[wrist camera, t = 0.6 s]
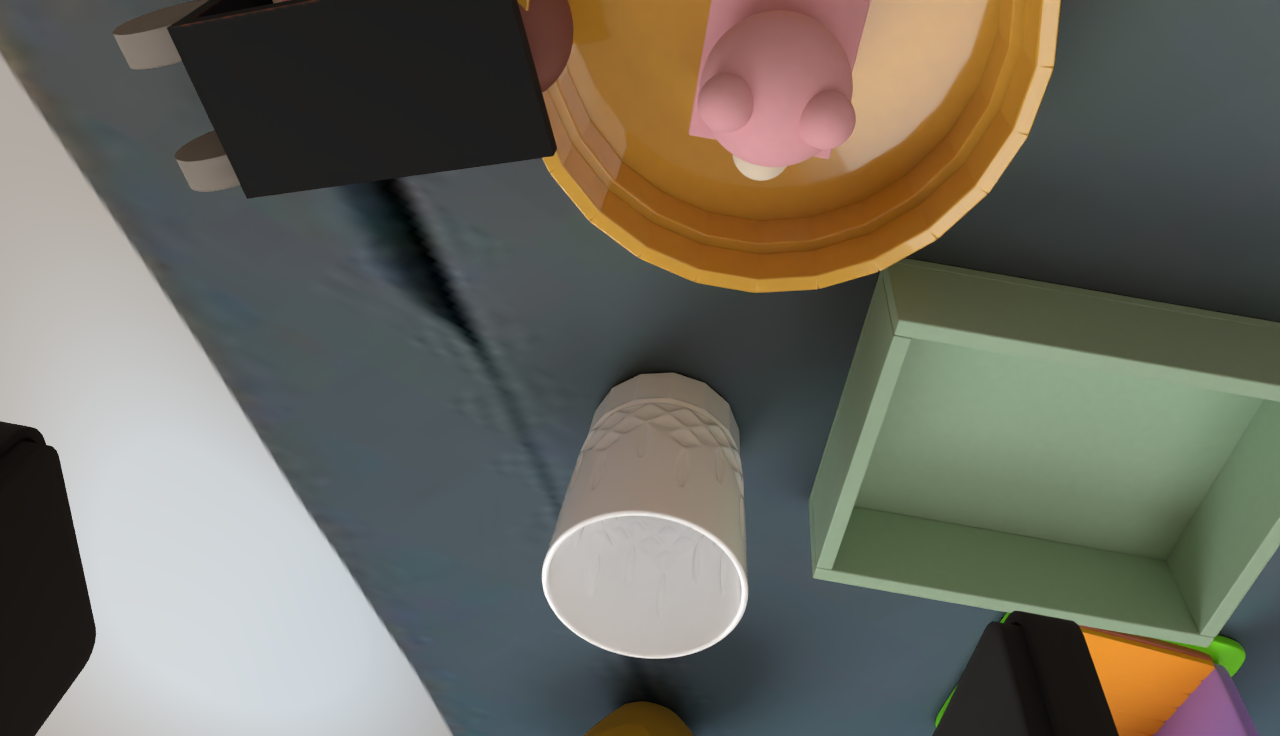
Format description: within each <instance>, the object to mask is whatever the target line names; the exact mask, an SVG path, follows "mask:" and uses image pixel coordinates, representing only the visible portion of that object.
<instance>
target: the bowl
mask: <svg viewBox="0 0 1280 736" xmlns="http://www.w3.org/2000/svg"><path fill="white" fill-rule="evenodd" d="M517 1H518V3H519V4H520V5H521V6H522V7H523V8H524V9H525V10H526V11H528V10H529V6H530V1H531V0H517ZM568 3H569V6H570V9H571V14H572V18H573V28H574V30H573V44H572V49H571V53H570V57H569V59H568V62H567V64H566V66H565V68H564V70H563V72H562V73H561V75H560V76H559V78H558V79H557V80H556V81H555V82H554V84H553V85H552V86H551V87H549V88H548V89H547V90H546V91H545V92H542V94H543V97H544V101H545V105H546V109H547V112H548V116H549V120H550V123H551V127H552V131H553V134H554V138H555V142H556V145H557V150H556V152H555V154H554V156H551V157H544V158H542V159H543V161H544V163H545V165H546V167H547V169H548V171H549V172H550V174H551V175H552V177H553V178H554V179H555V180H556V181H557V183H558V184H559V185H560V186H561V188H562V189H563V190H564V191H565V192H566V194H567V195H568V196H569V197H570V199H571V200H572V201H573V202H574V203H575V205H576V206H577V207H578V208H579V209H580V211H581V212H582V213H583V214H584V216H585V217H586V218H587V219H588V220H590V222H591V223H592V224H593V225H595V226H596V227H598V228H599V229H600V230H602V231H603V232H604V233H606V234H607V235H608V236H610V237H611V238H612V239H614V240H615V241H616V242H618V243H619V244H620V245H622V246H623V247H624V248H626V249H627V250H628V251H630V252H631V253H632V254H634V255H635V256H636V257H639V258H640V259H642V260H644V261H646V262H649V263H651V264H653V265H656V266H658V267H660V268H663V269H665V270H667V271H670V272H672V273H674V274H677V275H679V276H681V277H684V278H686V279H688V280H691V281H693V282H696V283H700V284H706V285H712V286H718V287H723V288H729V289H735V290H741V291H746V292H752V293H756V292H757V293H763V292H781V291H798V290H816V289H818V288H819V289H821V288H825V287H828V286H832V285H835V284H839V283H842V282H846V281H849V280H852V279H856V278H859V277H863V276H866V275H870V274H873V273H877V272H879V270H880V271H882V270H884V269H885V268H887V267H889V266H891V265H893V264H894V263H896V262H898V261H900V260H902V259H903V258H905V257H907V256H909V255H911V254H912V253H914V252H916V251H918V250H920V249H922V248H923V247H925V246H927V245H929V244H931V243H932V242H934V241H936V240H937V238H940V237H941V236H942V235H943V234H944V233H945V232H947V231H948V230H949V229H950V228H951V227H952V226H953V225H954V224H955V223H957V222H958V221H959V220H960V219H961V218H962V217H963V216H964V215H965V214H967V213H968V212H969V211H970V210H971V209H972V208H973V207H974V206H975V205H977V204H978V203H979V202H980V201H981V200H982V199H983V198H984V197H985V196H986V195H987V194H988V193H990V191H991V190H992V188H993V187H994V185H995V184H996V183H997V181H998V180H999V178H1000V177H1001V175H1002V174H1003V172H1004V171H1005V169H1006V168H1007V167H1008V165H1009V164H1010V162H1011V161H1012V159H1013V158H1014V156H1015V155H1016V154H1017V152H1018V151H1019V149H1020V148H1021V146H1022V145H1023V143H1024V142H1025V140H1026V139H1027V138H1028V135H1029V133H1030V131H1031V128H1032V125H1033V123H1034V120H1035V118H1036V115H1037V112H1038V110H1039V107H1040V104H1041V102H1042V99H1043V96H1044V94H1045V91H1046V88H1047V86H1048V83H1049V80H1050V78H1051V75H1052V72H1053V70H1054V67H1053V66H1054V65H1055V58H1056V48H1057V38H1058V28H1059V18H1060V8H1061V0H870V6H869V10H868V14H867V17H866V21H865V25H864V29H863V33H862V37H861V40H860V44H859V48H858V52H857V56H856V60H855V63H854V67H853V71H852V80H853V92H852V100H851V103H852V105H853V107H854V110H855V115H856V122H855V127H854V130H853V132H852V134H851V136H850V137H849V138H848V140H847V141H845V142H844V143H843V144H842V145H840V146H838V147H836V148H833V149H832V152H831V156H830V158H829V159H826V158H820V157H814V156H812V157H811V158H809V159H807V160H805V161H802V162H800V163H797V164H793V165H790V166H787V167H786V168H785V169H784V171H783V172H782V173H780V174H779V175H778V176H776V177H774V178H772V179H769V180H764V181H758V180H753V179H750V178H748V177H746V176H745V175H743V174H742V173H741V172H740V171H739V170H738V168H737V167H736V165H735V163H734V160H733V155H732V153H730V152H729V151H727V150H726V149H725V148H724V147H723V146H722V145H721V144H720V143H719V142H718V140H716V139H710V138H704V137H698V136H692V135H689V127H690V121H691V116H692V110H693V104H694V98H695V93H696V87H697V81H698V75H699V69H700V64H701V58H702V52H703V46H704V41H705V35H706V29H707V23H708V17H709V12H710V6H711V0H568Z"/></svg>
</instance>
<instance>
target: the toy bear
mask: <svg viewBox="0 0 1280 736" xmlns="http://www.w3.org/2000/svg"><path fill="white" fill-rule="evenodd" d="M869 6H870V0H711V6H710V12H709V17H708V23H707V29H706V35H705V41H704V46H703V52H702V58H701V64H700V69H699V75H698V81H697V87H696V93H695V98H694V104H693V110H692V116H691V121H690V127H689V135H692V136H698V137H704V138H710V139H716V140H718V142H719V143H720V144H721V145H722V146H723V147H724V148H725V149H726V150H727V151H729V152H730V153H732V155H733V160H734V163H735V165H736V167H737V168H738V170H739V171H740V172H741V173H742V174H743V175H745V176H746V177H748V178H750V179H753V180H758V181H764V180H769V179H772V178H774V177H776V176H778V175H779V174H780V173H782V172H783V171H784V169H785V168H786V167H787V166H790V165H793V164H797V163H800V162H802V161H805V160H807V159H809V158H811V157H812V156H814V157H820V158H826V159H829V158H830V156H831V152H832V149H833V148H836V147H838V146H840V145H842V144H843V143H844V142H845V141H847V140H848V138H849V137H850V136H851V134H852V132H853V130H854V127H855V122H856V115H855V110H854V107H853V105H852V103H851V100H852V92H853V80H852V71H853V67H854V63H855V60H856V56H857V52H858V48H859V44H860V40H861V37H862V33H863V29H864V25H865V21H866V17H867V14H868V10H869Z"/></svg>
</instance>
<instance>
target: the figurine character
mask: <svg viewBox="0 0 1280 736" xmlns="http://www.w3.org/2000/svg"><path fill="white" fill-rule="evenodd" d="M272 1H273V4H268V5H262V6H257V5H256V2H255V0H199V1H193V2H188V3H183V4H179V5H175V6H171V7H167V8H164V9H161V10H157V11H154V12H151V13H148V14H146V15H143V16H140V17H138V18H135V19H133V20H130V21H128V22H126V23H124V24H122V25H120V26H119V27H117V28H116V29H115V30H114V31H113V35H114V37H115V39H116V41H117V43H118V45H119V46H120V48H121V50H122V52H123V54H124V56H125V58H126V60H127V62H128V64H129V66H130V68H132V69H149V68H156V67H161V66H165V65H170V64H174V63H177V62H181V61H182V62H183V64H184V66H185V68H186V70H187V72H188V74H189V77H190V79H191V81H192V83H193V85H194V87H195V89H196V91H197V94H198V96H199V98H200V100H201V102H202V104H203V106H204V108H205V110H206V113H207V115H208V117H209V119H210V121H211V123H212V125H213V127H214V130H215V131H212V132H209V133H207V134H204V135H202V136H200V137H198V138H196V139H194V140H192V141H190V142H188V143H187V144H185V145H184V146H182V147H181V148H180V149H179V150H178V151H177V152H176V154H175V158H176V160H177V162H178V164H179V166H180V168H181V170H182V172H183V174H184V176H185V178H186V180H187V182H188V184H189V186H190V187H191V189H193V190H196V191H217V190H223V189H227V188H231V187H235V186H238V185H241V187H242V189H243V191H244V193H245V195H246V197H247V198H254V197H261V196H269V195H276V194H283V193H290V192H297V191H305V190H312V189H319V188H326V187H334V186H341V185H348V184H355V183H363V182H370V181H377V180H384V179H392V178H399V177H406V176H413V175H421V174H428V173H435V172H442V171H450V170H457V169H464V168H471V167H479V166H486V165H493V164H500V163H508V162H515V161H522V160H529V159H537V158H544V157H551V156H554V154H555V152H556V150H557V145H556V142H555V138H554V134H553V131H552V127H551V123H550V120H549V116H548V112H547V109H546V105H545V101H544V97H543V94H542V92H545V91H546V90H547V89H548V88H549V87H551V86H552V85H553V84H554V82H555V81H556V80H557V79H558V78H559V76H560V75H561V73H562V72H563V70H564V68H565V66H566V64H567V62H568V59H569V57H570V53H571V49H572V44H573V30H574V28H573V18H572V14H571V9H570V6H569V3H568V0H531V1H530V6H529V10H528V11H526V10H525V9H524V8H523V7H522V6H521V5H520V4H519V3H518V1H517V0H272Z"/></svg>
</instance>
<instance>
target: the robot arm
mask: <svg viewBox="0 0 1280 736" xmlns="http://www.w3.org/2000/svg"><path fill="white" fill-rule="evenodd" d="M95 637H96V628H95V623H94V619H93V614H92V609H91V604H90V600H89V595H88V590H87V586H86V581H85V576H84V572H83V567H82V563H81V558H80V554H79V548H78V544H77V539H76V534H75V530H74V526H73V520H72V516H71V511H70V506H69V502H68V498H67V493H66V488H65V483H64V478H63V474H62V469H61V464H60V460H59V456H58V453H57V451H56V450H55V449H54V448H53V447H52V446H48V445H46V443H45V440H44V438H43V435H42V434H41V433H40V432H39V431H38V430H37V429H35V428H32V427H27V426H22V425H17V424H11V423H6V422H0V736H35V735H36V733H37V732H38V730H39V729H40V728H41V726H42V725H43V723H44V722H45V720H46V719H47V718H48V717H49V715H50V714H51V712H52V711H53V710H54V708H55V707H56V705H57V704H58V702H59V701H60V700H61V698H62V697H63V695H64V694H65V693H66V692H67V690H68V689H69V687H70V686H71V685H72V683H73V682H74V680H75V679H76V678H77V676H78V675H79V674H80V672H81V671H82V669H83V668H84V666H85V664H86V663H87V661H88V660H89V658H90V655H91V653H92V650H93V647H94V643H95ZM933 736H1119V734H1118V731H1117V728H1116V726H1115V723H1114V720H1113V717H1112V714H1111V711H1110V708H1109V706H1108V703H1107V700H1106V697H1105V694H1104V691H1103V689H1102V686H1101V683H1100V680H1099V677H1098V674H1097V671H1096V669H1095V666H1094V663H1093V660H1092V657H1091V654H1090V651H1089V649H1088V646H1087V643H1086V640H1085V637H1084V634H1083V632H1082V630H1081V629H1080V627H1079V625H1078V624H1076V623H1075V622H1074V621H1071V620H1066V619H1060V618H1055V617H1050V616H1044V615H1039V614H1034V613H1028V612H1023V611H1013V612H1012V613H1010V614H1009V615H1008V617H1007V618H1006V620H1005V621H1004V623H1001V622H994V621H992V622H991V623H989V624H988V626H987V627H986V629H985V630H984V633H983V635H982V637H981V639H980V641H979V643H978V645H977V647H976V649H975V651H974V653H973V655H972V657H971V659H970V661H969V663H968V665H967V667H966V669H965V671H964V673H963V675H962V677H961V679H960V681H959V683H958V685H957V687H956V689H955V691H954V693H953V695H952V697H951V699H950V701H949V703H948V705H947V707H946V709H945V711H944V713H943V715H942V717H941V719H940V721H939V723H938V725H937V727H936V730H935V732H934V734H933Z"/></svg>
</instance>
